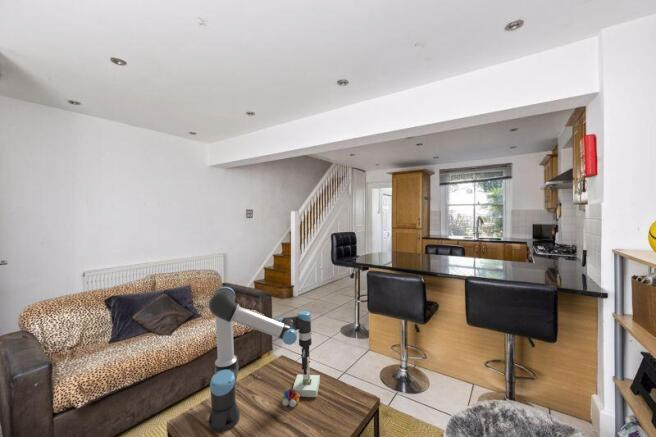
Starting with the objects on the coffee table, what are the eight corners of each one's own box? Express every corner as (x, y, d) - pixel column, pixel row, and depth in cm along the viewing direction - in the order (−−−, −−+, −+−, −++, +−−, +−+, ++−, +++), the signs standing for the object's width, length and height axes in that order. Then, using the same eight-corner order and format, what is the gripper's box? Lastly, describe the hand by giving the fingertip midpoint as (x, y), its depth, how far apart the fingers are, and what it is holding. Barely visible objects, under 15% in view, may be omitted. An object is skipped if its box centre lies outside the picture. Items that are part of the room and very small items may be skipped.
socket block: (292, 396, 158) (292, 389, 158) (297, 380, 172) (297, 374, 171) (316, 397, 156) (316, 390, 156) (319, 381, 170) (319, 375, 170)
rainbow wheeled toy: (296, 409, 148) (296, 396, 147) (279, 407, 150) (279, 394, 149) (301, 398, 156) (301, 386, 156) (285, 396, 158) (285, 384, 158)
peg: (302, 383, 162) (301, 360, 161) (303, 378, 166) (303, 356, 165) (309, 383, 162) (308, 360, 161) (310, 379, 166) (309, 356, 165)
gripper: (308, 345, 154) (310, 385, 155) (313, 331, 171) (314, 368, 172) (295, 345, 154) (297, 385, 156) (301, 331, 171) (302, 367, 172)
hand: (306, 376), depth 164 cm, fingers closed on peg, 4 cm apart
